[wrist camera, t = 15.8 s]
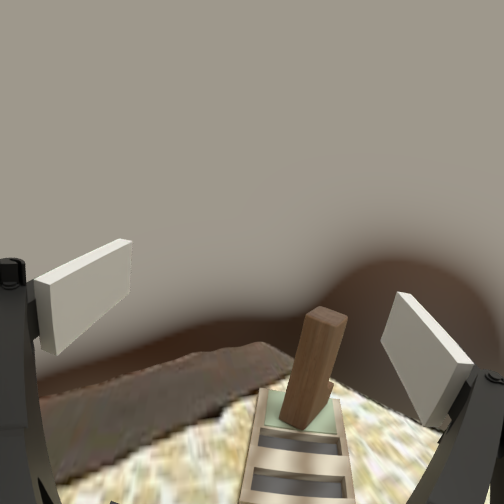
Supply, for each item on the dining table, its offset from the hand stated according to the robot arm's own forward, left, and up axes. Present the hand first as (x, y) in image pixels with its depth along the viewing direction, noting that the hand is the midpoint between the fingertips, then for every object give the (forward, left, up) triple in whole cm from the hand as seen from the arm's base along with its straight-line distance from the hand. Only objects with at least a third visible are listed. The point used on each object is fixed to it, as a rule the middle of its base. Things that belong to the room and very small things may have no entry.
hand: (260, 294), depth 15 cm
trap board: (+9, +19, -30) cm, 37 cm away
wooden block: (+9, +26, -28) cm, 40 cm away
